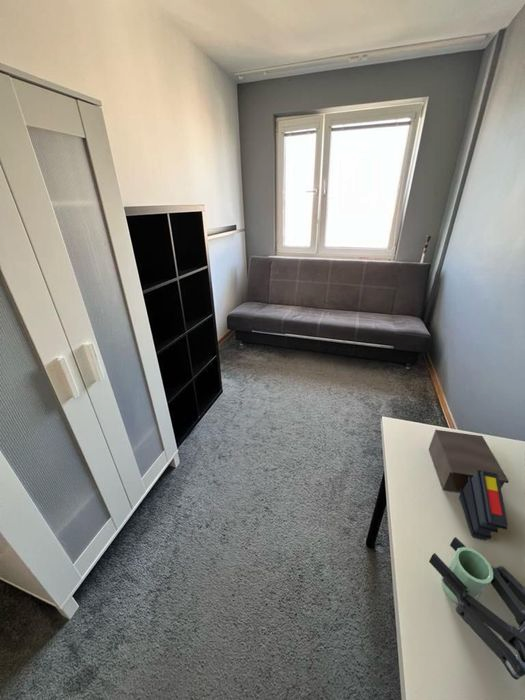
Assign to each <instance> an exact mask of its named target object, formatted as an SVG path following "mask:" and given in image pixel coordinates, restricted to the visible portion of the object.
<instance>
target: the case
mask: <svg viewBox="0 0 525 700" xmlns="http://www.w3.org/2000/svg"><path fill="white" fill-rule="evenodd" d="M428 452H429V456H430V458H431V461H432V463H433V466H434V467H433V468H434V469H435V472H436V476H437V477H438V481H439V484H440V486H441V489H442V491H447V492H451V493H457V494H461V493H460V488H461V487H462V488H464V487H465V485H466V484H467V483H468V477H467V476H461V475H454V474H452V473H451V471H450V468H449V466H448V463H447V461H446V458H445V456H444V453H443V451H442V448H441V445H440V443H439V440H438V438H437V435H436V433H435V432H434V433H433V435H432V439H431V442H430V444H429V447H428ZM504 485H505V483H503V482H500V487H501V489H502V488H503V486H504Z"/></svg>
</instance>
